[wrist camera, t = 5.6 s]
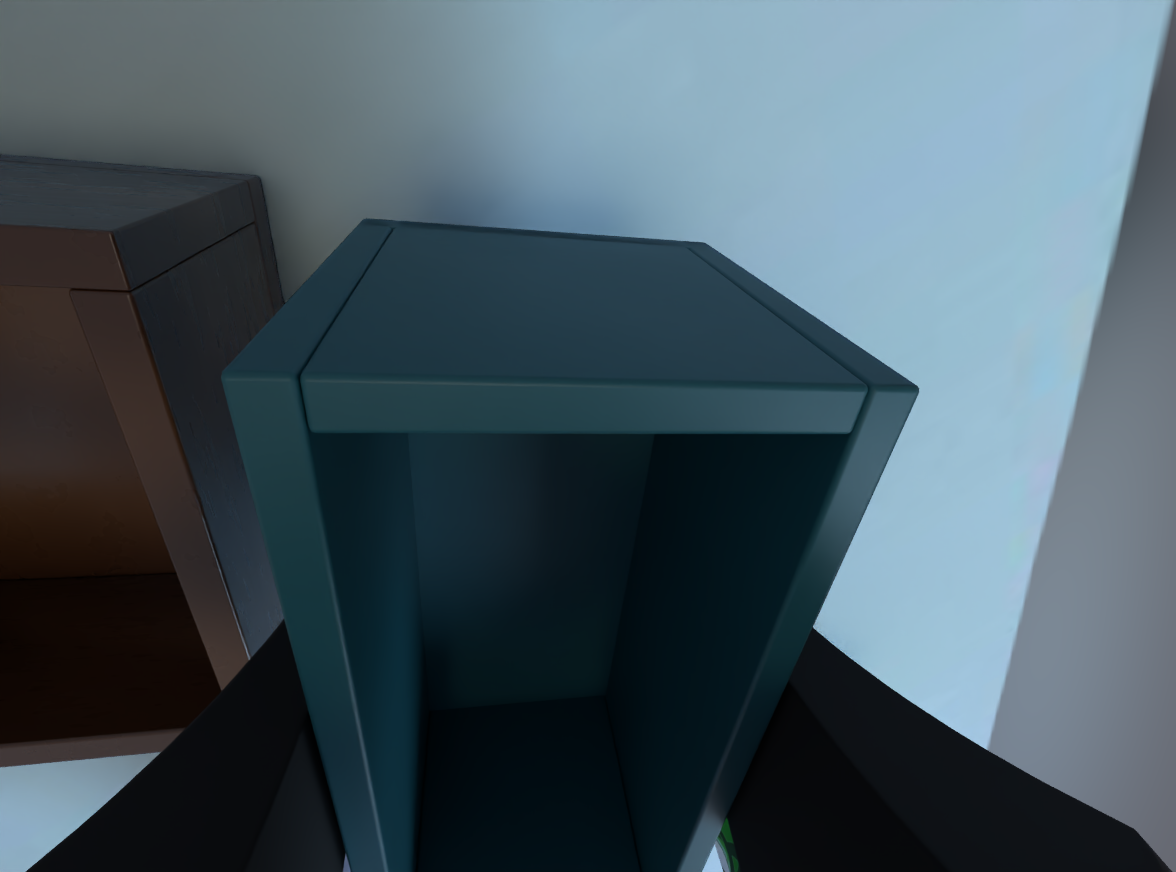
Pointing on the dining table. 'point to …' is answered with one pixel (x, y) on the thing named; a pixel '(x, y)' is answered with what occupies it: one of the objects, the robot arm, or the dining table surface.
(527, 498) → the bin
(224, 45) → the dining table surface
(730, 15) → the dining table surface
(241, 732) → the robot arm
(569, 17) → the dining table surface
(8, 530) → the crate
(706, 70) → the dining table surface
